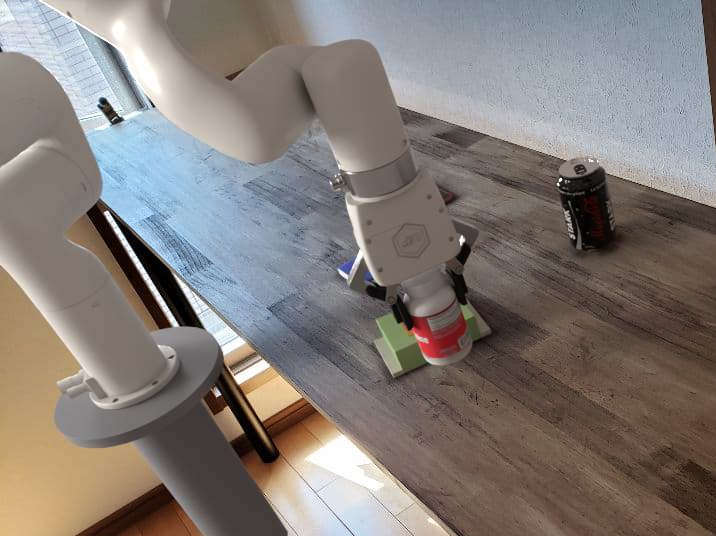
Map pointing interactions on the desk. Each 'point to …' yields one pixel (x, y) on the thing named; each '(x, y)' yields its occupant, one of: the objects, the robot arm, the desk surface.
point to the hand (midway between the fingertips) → (434, 311)
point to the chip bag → (403, 345)
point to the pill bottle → (436, 318)
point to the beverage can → (586, 204)
